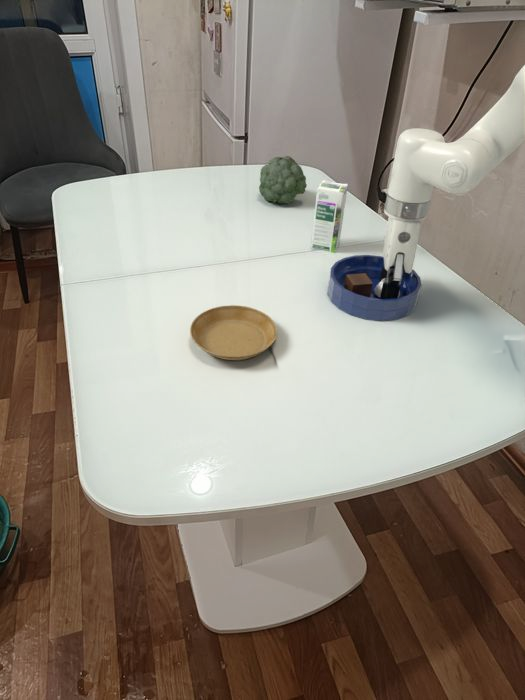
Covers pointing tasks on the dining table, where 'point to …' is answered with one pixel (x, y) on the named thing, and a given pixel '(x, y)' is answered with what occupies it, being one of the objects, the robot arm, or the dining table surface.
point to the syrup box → (328, 216)
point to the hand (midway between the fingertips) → (387, 292)
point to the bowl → (373, 305)
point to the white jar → (379, 288)
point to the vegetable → (281, 180)
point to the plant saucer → (233, 332)
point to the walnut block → (359, 284)
